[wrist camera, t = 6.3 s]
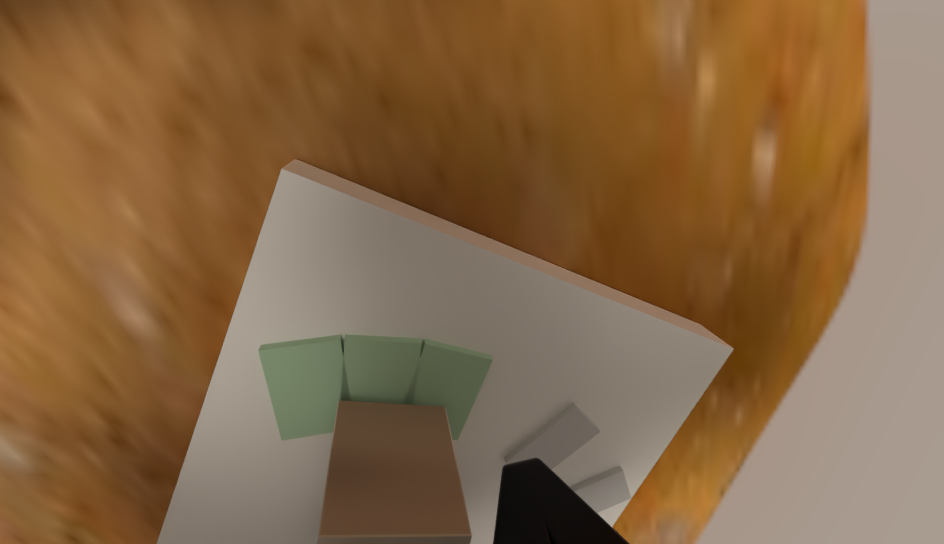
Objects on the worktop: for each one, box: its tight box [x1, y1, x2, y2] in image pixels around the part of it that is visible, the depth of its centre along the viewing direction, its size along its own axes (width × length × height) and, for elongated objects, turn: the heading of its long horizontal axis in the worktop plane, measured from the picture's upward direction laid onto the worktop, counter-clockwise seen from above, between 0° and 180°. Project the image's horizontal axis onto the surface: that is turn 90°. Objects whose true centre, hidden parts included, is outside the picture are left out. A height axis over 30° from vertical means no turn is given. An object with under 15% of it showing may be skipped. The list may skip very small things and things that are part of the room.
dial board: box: [157, 159, 734, 544], centre depth 11 cm, size 13×10×1 cm
